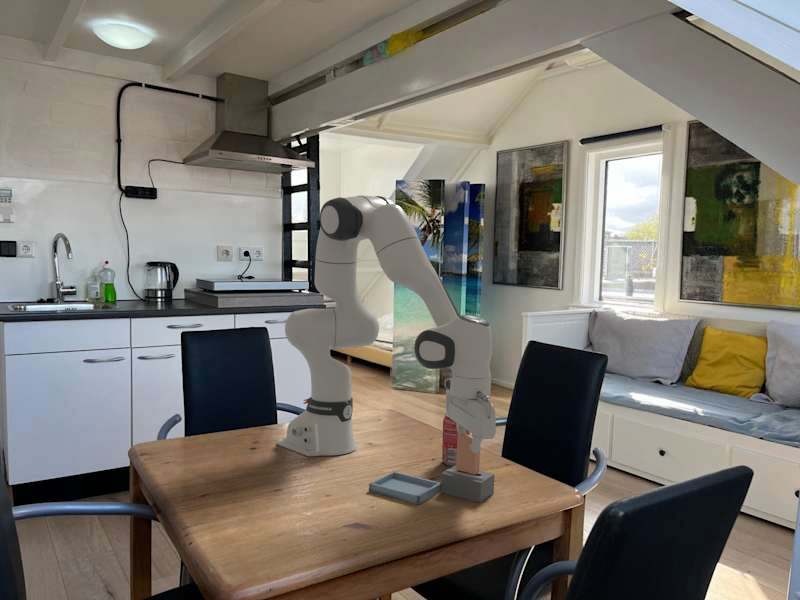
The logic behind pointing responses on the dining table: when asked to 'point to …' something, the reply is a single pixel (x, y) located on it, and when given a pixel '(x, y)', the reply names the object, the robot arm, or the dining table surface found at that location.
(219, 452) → the dining table surface
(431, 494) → the tray
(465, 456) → the terracotta rectangular block
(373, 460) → the dining table surface
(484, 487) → the dispenser
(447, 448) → the soda can
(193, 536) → the dining table surface
